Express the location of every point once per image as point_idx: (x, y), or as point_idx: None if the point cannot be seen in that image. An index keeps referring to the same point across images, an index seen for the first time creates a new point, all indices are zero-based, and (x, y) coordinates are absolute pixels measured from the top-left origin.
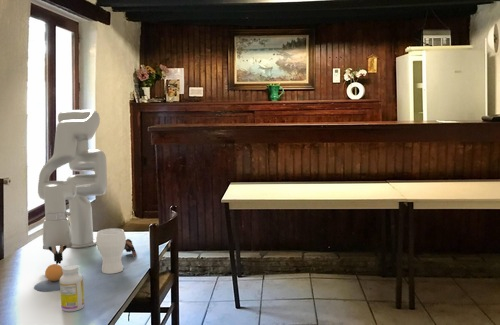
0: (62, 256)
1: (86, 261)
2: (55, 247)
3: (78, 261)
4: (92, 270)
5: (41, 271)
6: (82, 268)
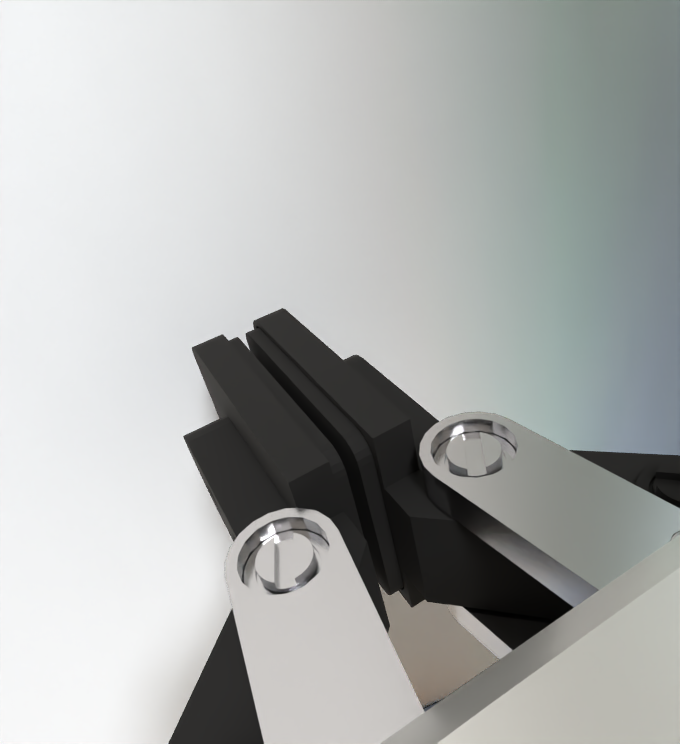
0: (390, 386)
1: (623, 28)
2: (386, 672)
3: (506, 4)
4: (652, 438)
5: (32, 646)
6: (572, 394)
